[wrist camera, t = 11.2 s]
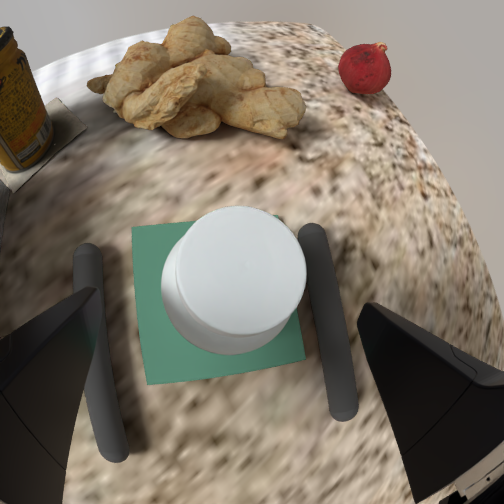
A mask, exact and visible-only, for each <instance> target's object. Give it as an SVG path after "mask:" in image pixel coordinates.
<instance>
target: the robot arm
mask: <svg viewBox="0 0 504 504" xmlns="http://www.w3.org/2000/svg"><path fill="white" fill-rule="evenodd" d="M101 318H102V304H101V298H100V291H99V289H98V288H97V287H90V286H86V287H84V288H82V289H81V290H79V291H77V292H76V293H74V294H72V295H71V296H69V297H67V298H66V299H64V300H62V301H61V302H59V303H57V304H56V305H54V306H53V307H51V308H49V309H48V310H46V311H44V312H43V313H41V314H40V315H38V316H37V317H35V318H33V319H32V320H30V321H29V322H27V323H25V324H24V325H22V326H21V327H19V328H18V329H16V330H15V331H13V332H12V333H11V334H9V335H7V336H6V337H4V338H3V339H1V340H0V504H62V500H63V491H64V483H65V476H66V468H67V462H68V456H69V451H70V445H71V440H72V435H73V431H74V426H75V422H76V417H77V413H78V409H79V405H80V401H81V397H82V394H83V390H84V386H85V383H86V379H87V376H88V372H89V369H90V366H91V362H92V359H93V355H94V351H95V346H96V341H97V336H98V331H99V327H100V322H101ZM357 328H358V331H359V335H360V338H361V341H362V345H363V348H364V352H365V355H366V359H367V362H368V364H369V367H370V370H371V372H372V375H373V377H374V380H375V382H376V385H377V388H378V390H379V393H380V396H381V398H382V401H383V404H384V407H385V410H386V412H387V415H388V418H389V421H390V424H391V427H392V430H393V432H394V435H395V438H396V441H397V444H398V448H399V451H400V454H401V456H402V461H403V464H404V467H405V470H406V474H407V477H408V481H409V484H410V488H411V491H412V495H413V499H414V502H415V504H417V503H419V502H421V501H423V500H425V499H427V498H428V497H430V496H432V495H434V494H435V493H437V492H439V491H441V490H442V489H444V488H445V487H447V486H449V485H450V484H452V483H453V482H454V484H455V486H456V488H457V490H456V491H455V492H453V493H452V494H450V495H449V496H447V497H445V498H444V499H442V500H441V501H439V504H504V371H501V370H498V369H496V368H494V367H492V366H490V365H488V364H486V363H484V362H482V361H480V360H478V359H476V358H475V357H473V356H471V355H469V354H467V353H465V352H463V351H461V350H460V349H458V348H456V347H454V346H453V345H451V344H450V345H449V343H447V342H446V341H444V340H442V339H440V338H439V337H437V336H435V335H433V334H432V333H430V332H428V331H426V330H424V329H423V328H421V327H419V326H417V325H416V324H414V323H412V322H410V321H408V320H407V319H405V318H403V317H401V316H400V315H398V314H396V313H394V312H392V311H391V310H389V309H387V308H385V307H383V306H382V305H380V304H378V303H376V302H367V303H365V304H364V306H363V308H362V311H361V313H360V316H359V318H358V321H357Z"/></svg>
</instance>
